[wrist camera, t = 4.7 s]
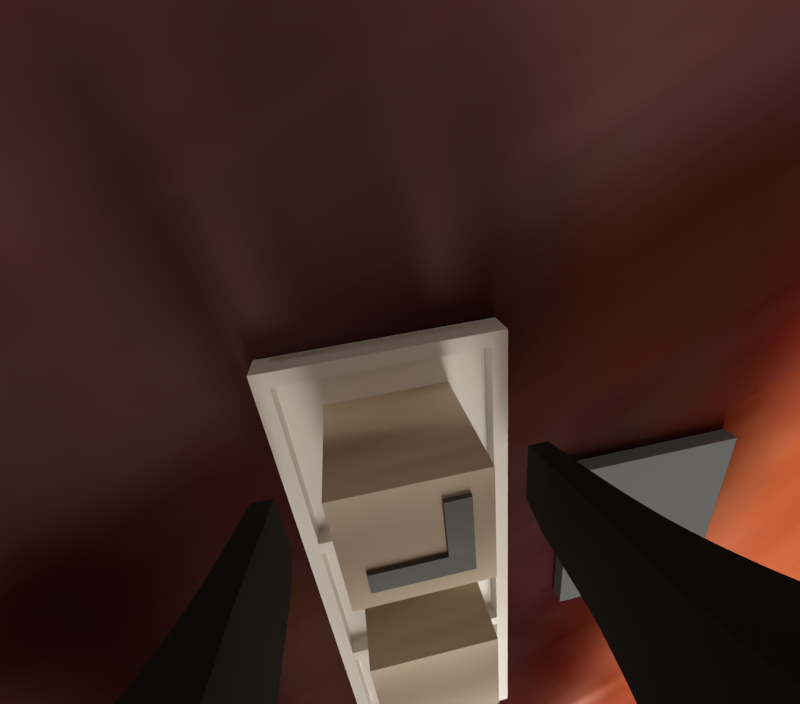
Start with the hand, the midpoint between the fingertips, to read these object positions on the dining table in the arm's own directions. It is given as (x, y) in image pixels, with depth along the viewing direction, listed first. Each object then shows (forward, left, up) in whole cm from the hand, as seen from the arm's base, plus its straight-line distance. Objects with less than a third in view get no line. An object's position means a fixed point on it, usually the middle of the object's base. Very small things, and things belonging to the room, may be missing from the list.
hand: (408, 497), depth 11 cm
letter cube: (0, 0, -3) cm, 3 cm away
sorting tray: (-7, 0, -3) cm, 8 cm away
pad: (-7, -10, -3) cm, 13 cm away
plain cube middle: (-7, 0, -3) cm, 8 cm away
